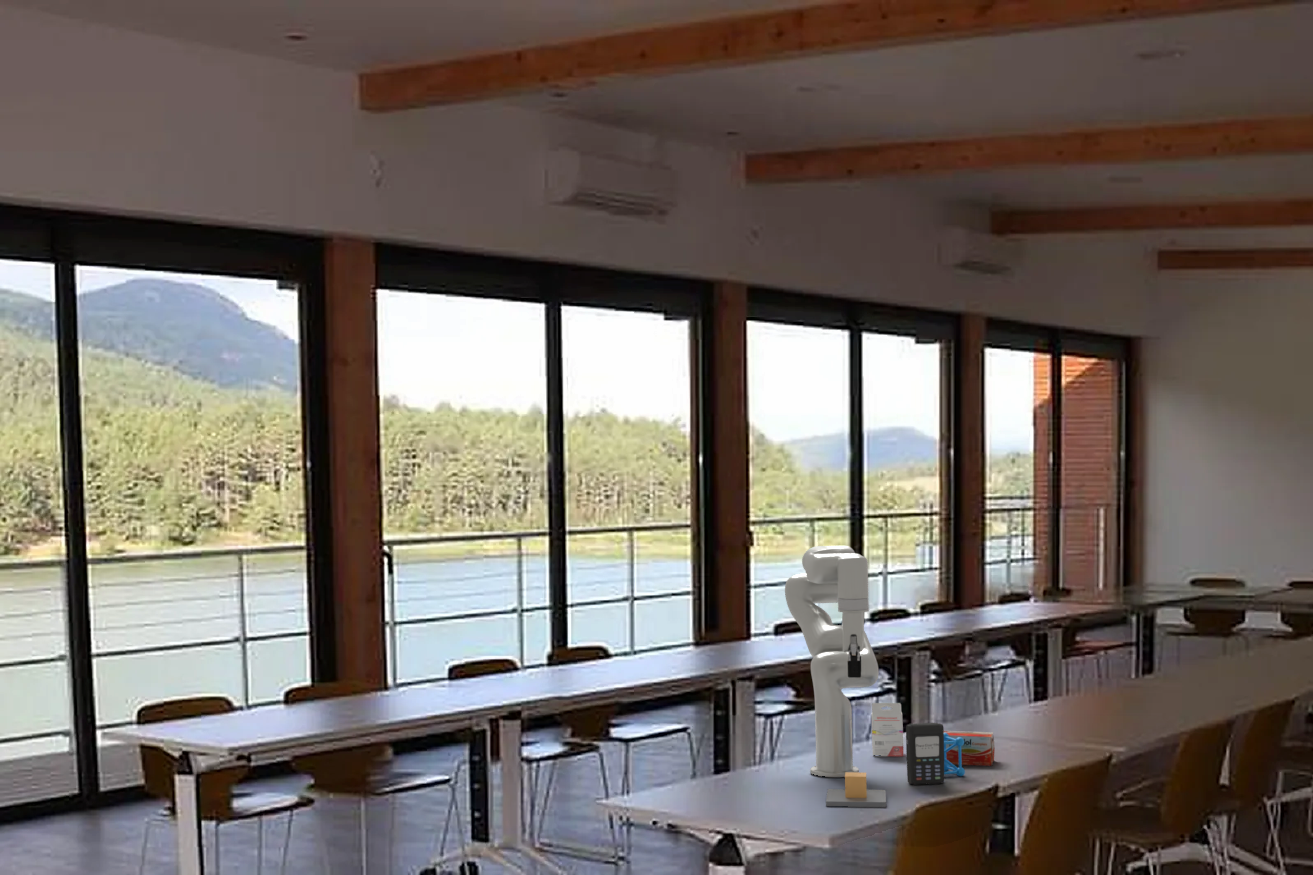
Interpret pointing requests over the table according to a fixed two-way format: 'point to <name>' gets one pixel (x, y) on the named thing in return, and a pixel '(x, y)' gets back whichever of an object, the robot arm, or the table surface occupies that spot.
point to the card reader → (925, 753)
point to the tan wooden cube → (855, 785)
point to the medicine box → (972, 748)
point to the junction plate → (856, 799)
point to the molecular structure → (959, 743)
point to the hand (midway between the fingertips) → (854, 674)
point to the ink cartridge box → (887, 729)
